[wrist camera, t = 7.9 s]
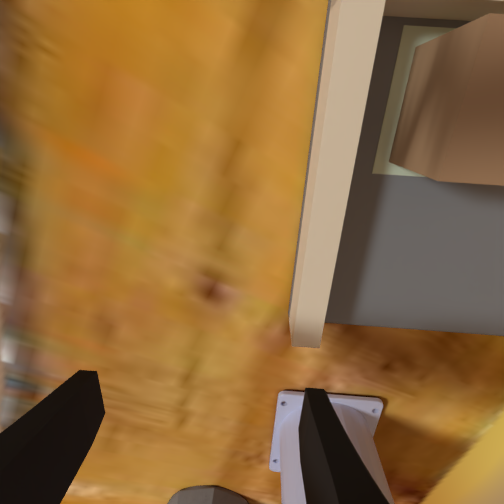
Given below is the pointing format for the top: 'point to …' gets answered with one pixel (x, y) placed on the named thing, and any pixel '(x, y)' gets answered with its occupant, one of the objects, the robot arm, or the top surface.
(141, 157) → the top surface
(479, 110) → the walnut cube
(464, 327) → the grey corner tray
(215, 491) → the coffeepot
